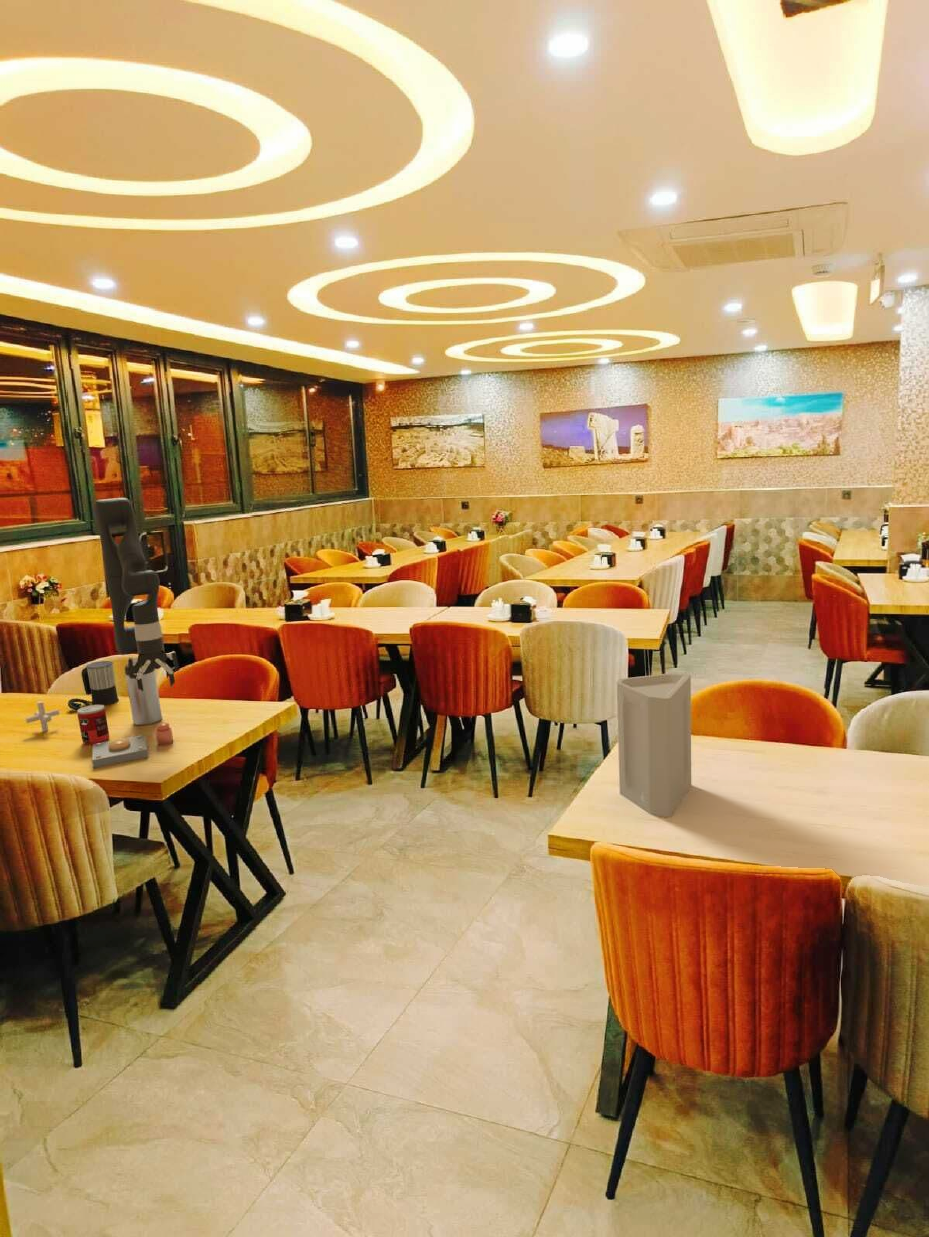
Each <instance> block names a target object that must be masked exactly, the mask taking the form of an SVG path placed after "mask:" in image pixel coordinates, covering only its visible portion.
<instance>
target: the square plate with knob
mask: <svg viewBox="0 0 929 1237" xmlns="http://www.w3.org/2000/svg"><path fill="white" fill-rule="evenodd" d="M147 758H149V752H148V745H147V739H146V734H141V735H135V736H128V737H124V738H118V739H113V740H108V741H106V742H102V743H96V744H93V745H92V758H91V759H92V760H91V761H92V767H93V769H96V768H95V767H97V768H101V767H106V765H107V766H111V765H110V764H112V765H115V764H116V765H117V764H120V763H121V764H122V762H123V763H126V762H127V761H128V762H131V761H130V760H133V761H137V760H142V759H147Z"/></svg>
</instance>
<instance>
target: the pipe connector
mask: <svg viewBox="0 0 929 1237" xmlns="http://www.w3.org/2000/svg"><path fill="white" fill-rule="evenodd" d="M58 715H60V711H59V709H54V710H51V711H45V705H44V701H38V702H37V711H35V712H34V714H33V716H29V717H26V718H25V722H26V724H30V723H33V722H37V721H40V724H41V730H42V732H48V731H49V726H48V723H50V722H52V717H55V716H58Z"/></svg>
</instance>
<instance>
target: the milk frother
mask: <svg viewBox="0 0 929 1237" xmlns="http://www.w3.org/2000/svg"><path fill="white" fill-rule="evenodd" d="M113 665H114V662H113V661H111V660H103V661H102V660H101V661H96V662H95V661H94V662H91V663H89V664H86V666H85V667H83V669H82V670H81V673H80V674H81V679H82V683H83V684H82V685H83V688H84V692H85V694H86V695H91V701H90V700H86V699H82V698H71V699H69V700H68V701H67V706H68V707H69V708H70V709H72V710H73V711H76V712H77V710H78V709H80V708H83V707H86V706H90V704H91V705H103V706H109V705H112V704H116V703H118V702H119V701H120V700H119V697H118V692H117V687H116V686H117V685H116V678H115V672H114V666H113ZM89 703H90V704H89ZM82 704H83V706H82Z"/></svg>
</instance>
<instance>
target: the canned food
mask: <svg viewBox="0 0 929 1237" xmlns="http://www.w3.org/2000/svg"><path fill="white" fill-rule="evenodd" d="M82 707H83V706H82ZM76 713H77V718H78V724H79V728H80V729H79V730H80V736H81V741H82V743H83V744H84V745H85V746H93V744H96V743H102V742H107V741H110V740H109V739H110V732H109V725H108V719H107V714H106V713H107V712H106V707H105V705H92V704H91V705H90V704H89V706H86V707H83V708H80V709H78V710H77V711H76Z"/></svg>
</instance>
